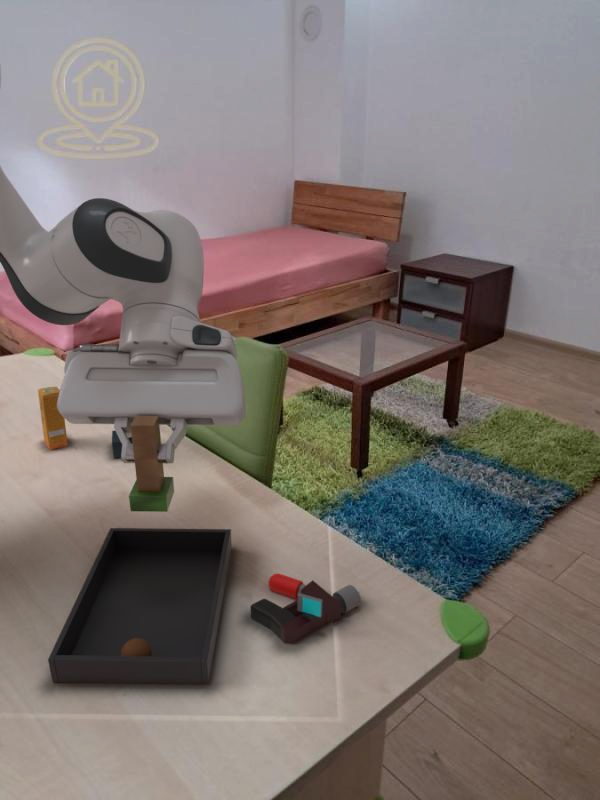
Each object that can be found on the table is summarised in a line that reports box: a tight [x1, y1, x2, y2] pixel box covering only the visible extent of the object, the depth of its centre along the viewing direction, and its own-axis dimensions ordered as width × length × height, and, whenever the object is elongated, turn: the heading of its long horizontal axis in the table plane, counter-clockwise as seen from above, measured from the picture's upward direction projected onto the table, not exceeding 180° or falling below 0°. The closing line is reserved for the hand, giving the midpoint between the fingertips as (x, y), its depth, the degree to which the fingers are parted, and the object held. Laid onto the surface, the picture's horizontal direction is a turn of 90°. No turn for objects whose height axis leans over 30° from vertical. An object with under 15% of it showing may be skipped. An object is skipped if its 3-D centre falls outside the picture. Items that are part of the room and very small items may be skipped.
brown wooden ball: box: [121, 638, 152, 656], centre depth 63 cm, size 3×3×3 cm
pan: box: [47, 527, 233, 686], centre depth 71 cm, size 15×21×4 cm
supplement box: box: [37, 386, 69, 451], centre depth 105 cm, size 3×3×10 cm
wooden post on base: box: [128, 416, 175, 513], centre depth 68 cm, size 4×4×10 cm
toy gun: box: [250, 573, 362, 645], centre depth 71 cm, size 10×12×5 cm
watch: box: [111, 430, 132, 460], centre depth 103 cm, size 6×8×11 cm
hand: (147, 462), depth 67 cm, fingers closed on wooden post on base, 2 cm apart
